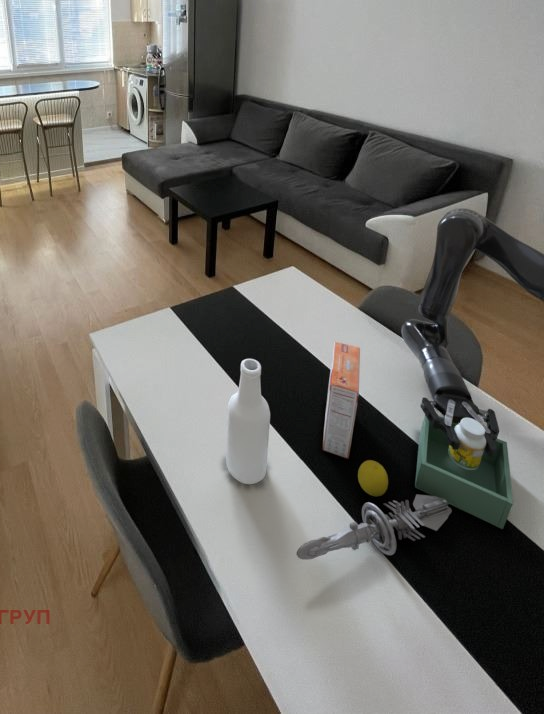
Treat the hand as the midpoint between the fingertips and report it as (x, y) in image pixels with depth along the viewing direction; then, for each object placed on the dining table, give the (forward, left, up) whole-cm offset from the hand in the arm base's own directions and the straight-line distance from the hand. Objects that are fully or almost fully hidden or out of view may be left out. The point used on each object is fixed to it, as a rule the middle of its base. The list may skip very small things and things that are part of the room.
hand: (474, 450), depth 85 cm
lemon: (+16, +11, -12) cm, 22 cm away
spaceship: (+14, +20, -12) cm, 27 cm away
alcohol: (+40, +20, -12) cm, 46 cm away
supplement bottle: (+1, -2, -6) cm, 7 cm away
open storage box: (+1, -2, -12) cm, 12 cm away
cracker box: (+25, 0, -12) cm, 27 cm away
